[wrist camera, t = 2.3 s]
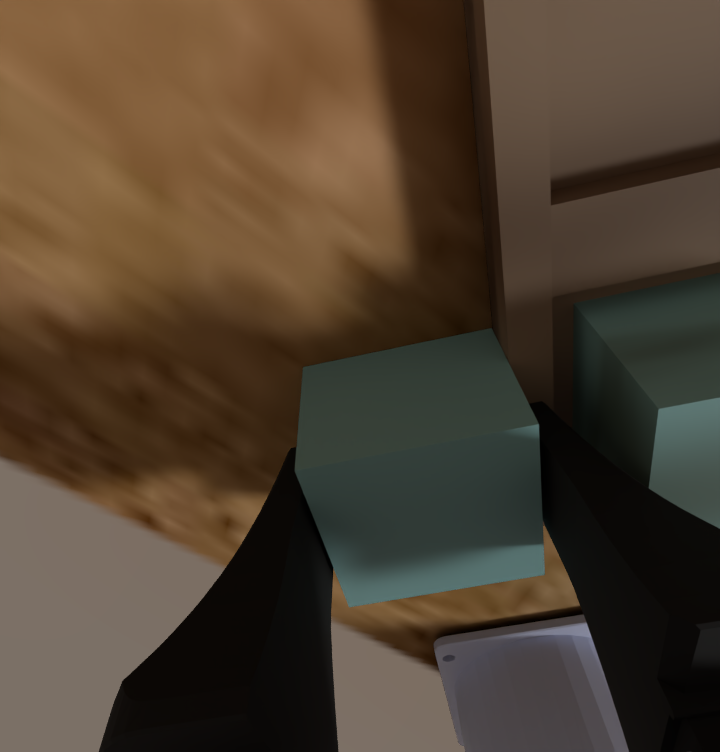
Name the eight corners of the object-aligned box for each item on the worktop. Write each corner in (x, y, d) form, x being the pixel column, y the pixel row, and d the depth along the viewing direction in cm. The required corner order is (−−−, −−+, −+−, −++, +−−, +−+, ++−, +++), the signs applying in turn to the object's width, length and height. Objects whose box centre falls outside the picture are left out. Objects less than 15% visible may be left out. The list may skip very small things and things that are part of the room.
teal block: (503, 462, 17) (544, 574, 14) (346, 491, 17) (349, 607, 14) (490, 325, 14) (539, 424, 11) (303, 363, 14) (294, 470, 11)
